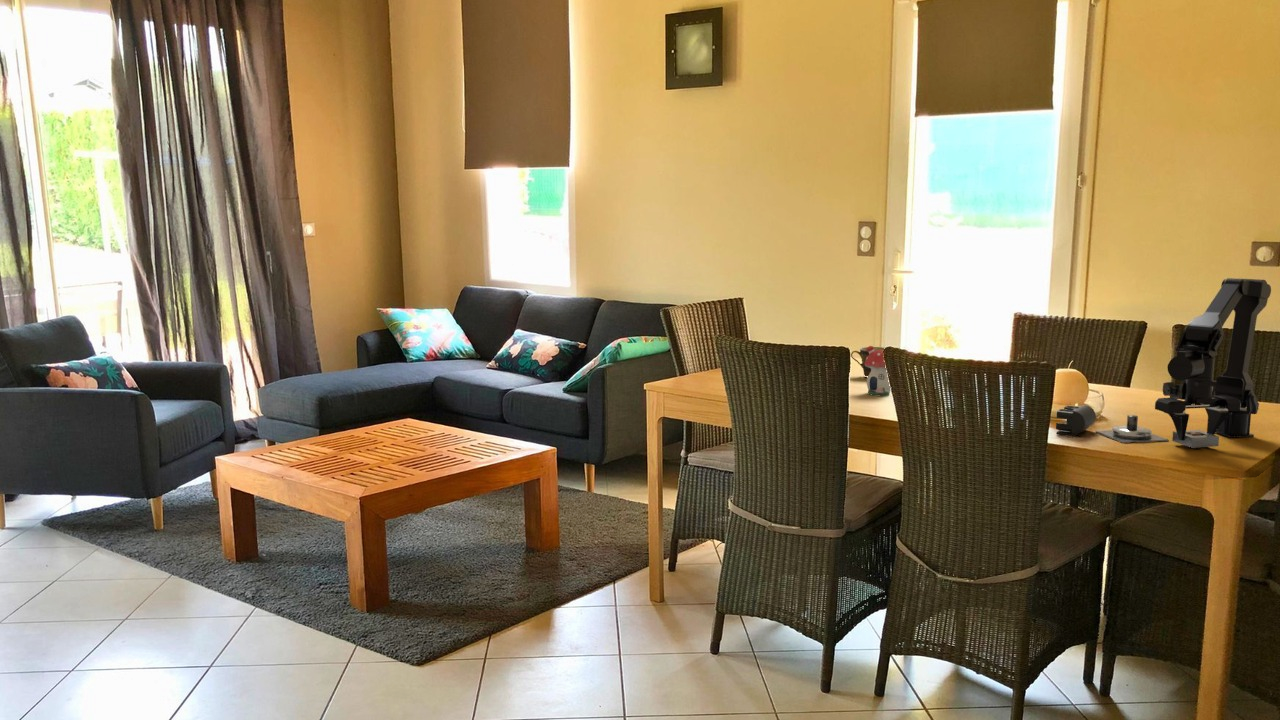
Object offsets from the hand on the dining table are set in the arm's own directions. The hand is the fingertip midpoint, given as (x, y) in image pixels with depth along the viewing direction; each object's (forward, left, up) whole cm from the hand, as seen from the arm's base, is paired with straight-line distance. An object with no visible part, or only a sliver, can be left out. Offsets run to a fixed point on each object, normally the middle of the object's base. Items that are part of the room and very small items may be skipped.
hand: (1195, 439), depth 245 cm
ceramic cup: (+41, -110, -2) cm, 117 cm away
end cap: (+19, -20, -2) cm, 28 cm away
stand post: (0, 0, -2) cm, 2 cm away
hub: (+8, -13, -2) cm, 15 cm away
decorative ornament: (+49, -81, -2) cm, 95 cm away
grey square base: (0, 0, -1) cm, 1 cm away
